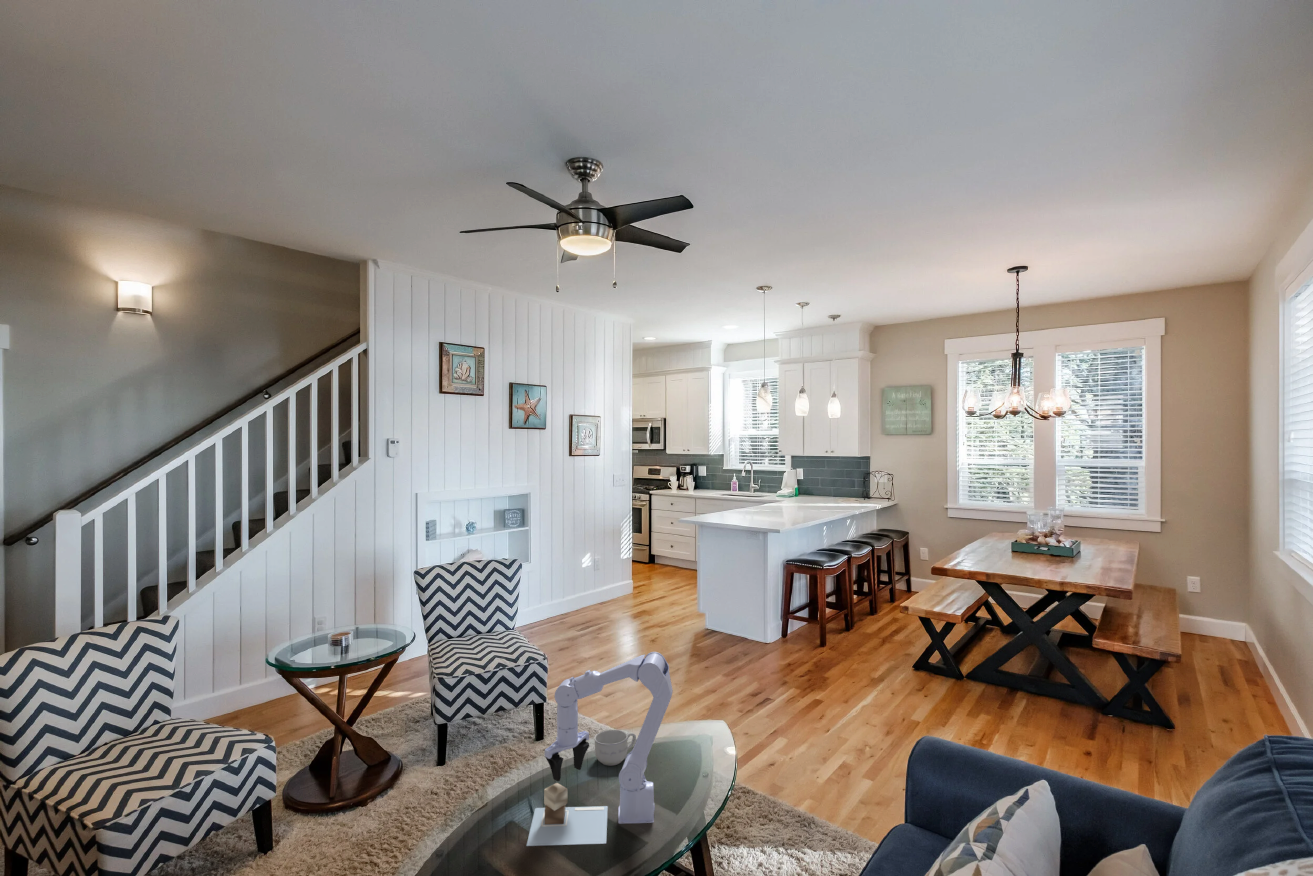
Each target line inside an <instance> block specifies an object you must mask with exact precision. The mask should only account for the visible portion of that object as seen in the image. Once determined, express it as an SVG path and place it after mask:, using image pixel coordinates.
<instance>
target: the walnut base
mask: <svg viewBox="0 0 1313 876" xmlns="http://www.w3.org/2000/svg"><path fill="white" fill-rule="evenodd" d="M565 807H566V805H564V806H562V807H560V808H559V809H557V810H555V811H554V810H553V809H551V808H549V807H548V806H546V805H545V806H544V808H545V824H564V818H565Z"/></svg>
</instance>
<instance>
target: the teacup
mask: <svg viewBox="0 0 1313 876" xmlns="http://www.w3.org/2000/svg"><path fill="white" fill-rule="evenodd" d="M630 737H632V739H631V741H630V742H629V743H628V740H629V738H630ZM593 740H594V751H595V752H594V753H595V757H596V759H597V761H598V762H600V763H601V764H603V766H610V767H611V766H616V765H617V766H618V765H619V764H621V763H622V762H623V761H625V758H626V756H627V755H628V752H629V750H630V748H632V747H634V745H635V743H636V740H637V736H636V734H635V733H634V732H632V731H630V732H629V731H628V733H627V732H625V731H624V730H621V729H606V730H602V731H600V732H598V733H596V734H595V735H594V738H593Z"/></svg>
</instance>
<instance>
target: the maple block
mask: <svg viewBox="0 0 1313 876" xmlns="http://www.w3.org/2000/svg"><path fill="white" fill-rule="evenodd" d="M568 789H569V788H567V787H565V786H564V785H562V784H560V783H559V782H556V783H554V784H552V785H550V786H547V787H546V788H544V790H543V791H544V792H543V796H544V797H543V799H544V800H543V804H544V805H545V806H548V807H549V808H551V809H553V810H554V811H555V810H557V809H559V808H560V807H562V806H564V805H565V806H566V805H567V804H568V794H569V793H568Z"/></svg>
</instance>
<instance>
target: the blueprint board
mask: <svg viewBox="0 0 1313 876" xmlns="http://www.w3.org/2000/svg"><path fill="white" fill-rule="evenodd" d="M608 808H609V806H608V805H603V806H602V805H601V806H600V805H599V806H595V805H594V806H592V805H591V806H565V818H564V824H545V807H535V808H534V813H533V815H532V821H531V824H530V827H529V828H530V829H529V832H528V833H529V834H528V839H527V840H526V841H527V842H526V846H525V847H535V846H536V847H539V846H565V845H567V846H571V845H601V844H603V845H605V844H607V837H608V836H607V835H608V834H607V833H608V830H607V828H608V811H609V810H608Z"/></svg>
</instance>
